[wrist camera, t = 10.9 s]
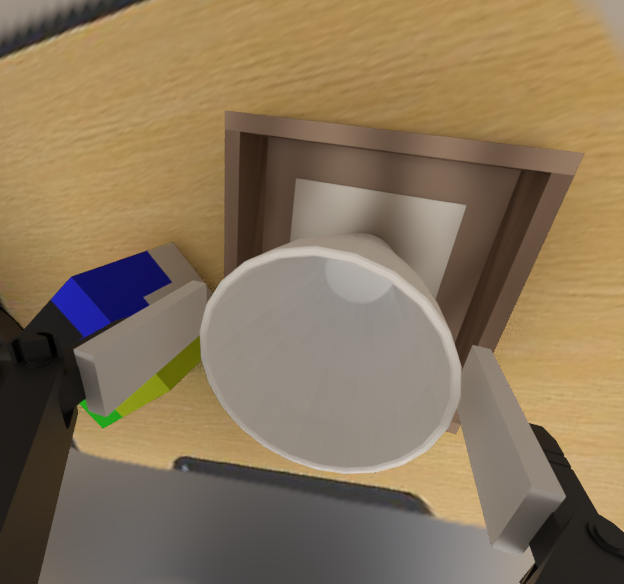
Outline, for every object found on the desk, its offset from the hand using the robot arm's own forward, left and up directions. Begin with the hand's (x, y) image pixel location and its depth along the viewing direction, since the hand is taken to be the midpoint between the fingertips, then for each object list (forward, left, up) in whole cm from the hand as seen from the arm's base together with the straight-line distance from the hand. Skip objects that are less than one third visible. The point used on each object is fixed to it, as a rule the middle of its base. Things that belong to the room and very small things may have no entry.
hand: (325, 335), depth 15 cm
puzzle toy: (-18, -8, -12) cm, 23 cm away
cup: (0, 0, -10) cm, 10 cm away
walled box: (0, 0, -11) cm, 11 cm away
